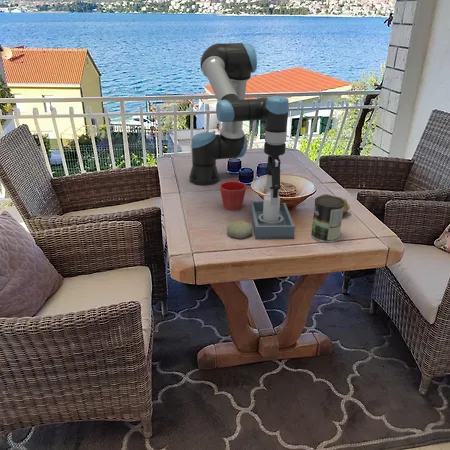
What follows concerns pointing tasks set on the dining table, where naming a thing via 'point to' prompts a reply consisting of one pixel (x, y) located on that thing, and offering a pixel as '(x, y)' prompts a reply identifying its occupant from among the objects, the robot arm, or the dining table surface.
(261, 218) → the inlet ring
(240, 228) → the sea urchin shell
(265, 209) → the beverage can
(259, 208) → the walled box
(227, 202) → the flower pot
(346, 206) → the oil lamp
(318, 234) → the coffee can
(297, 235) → the dining table surface
